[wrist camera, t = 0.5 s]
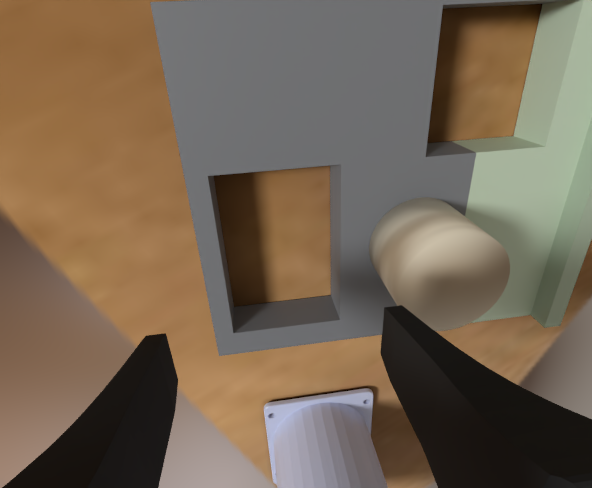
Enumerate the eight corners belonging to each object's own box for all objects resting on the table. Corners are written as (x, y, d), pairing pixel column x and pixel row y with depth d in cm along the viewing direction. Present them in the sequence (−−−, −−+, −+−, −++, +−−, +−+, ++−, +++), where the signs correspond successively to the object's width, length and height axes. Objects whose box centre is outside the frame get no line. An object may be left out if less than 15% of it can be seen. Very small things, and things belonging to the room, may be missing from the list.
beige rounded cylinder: (454, 277, 21) (497, 323, 18) (367, 287, 21) (393, 337, 17) (469, 192, 19) (522, 226, 15) (371, 202, 18) (402, 239, 15)
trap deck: (520, 290, 25) (560, 325, 22) (220, 328, 24) (218, 372, 20) (605, -13, 17) (686, -25, 14) (162, 8, 16) (142, -2, 12)
